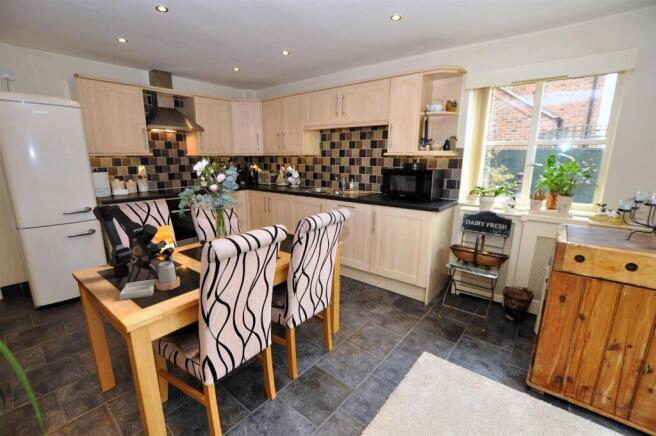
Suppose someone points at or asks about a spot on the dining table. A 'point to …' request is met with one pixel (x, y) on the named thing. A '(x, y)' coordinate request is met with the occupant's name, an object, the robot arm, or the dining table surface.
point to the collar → (167, 285)
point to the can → (166, 272)
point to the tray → (138, 289)
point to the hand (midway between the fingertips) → (165, 269)
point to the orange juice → (164, 238)
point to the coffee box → (135, 250)
